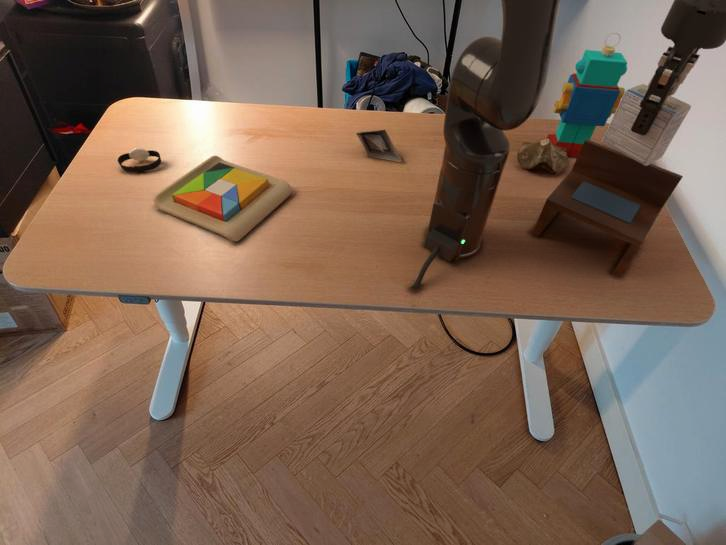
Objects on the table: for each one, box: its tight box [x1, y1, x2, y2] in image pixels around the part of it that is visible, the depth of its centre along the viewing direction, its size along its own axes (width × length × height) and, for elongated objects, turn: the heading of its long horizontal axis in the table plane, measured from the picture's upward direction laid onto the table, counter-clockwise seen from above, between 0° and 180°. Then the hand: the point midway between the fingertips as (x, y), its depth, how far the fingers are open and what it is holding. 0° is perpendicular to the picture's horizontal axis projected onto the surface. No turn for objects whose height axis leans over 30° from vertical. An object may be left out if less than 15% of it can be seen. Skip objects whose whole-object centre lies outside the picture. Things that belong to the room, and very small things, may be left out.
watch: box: [117, 147, 162, 174], centre depth 92 cm, size 8×5×4 cm, turn 108°
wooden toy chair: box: [532, 139, 684, 277], centre depth 81 cm, size 12×16×14 cm
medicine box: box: [601, 83, 692, 166], centre depth 70 cm, size 8×4×9 cm, turn 35°
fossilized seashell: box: [516, 138, 570, 175], centre depth 99 cm, size 8×7×10 cm
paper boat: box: [355, 129, 403, 163], centre depth 98 cm, size 12×6×9 cm
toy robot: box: [546, 32, 628, 158], centre depth 96 cm, size 12×6×25 cm, turn 84°
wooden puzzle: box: [153, 155, 292, 242], centre depth 87 cm, size 18×19×4 cm
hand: (644, 124), depth 70 cm, fingers closed on medicine box, 5 cm apart
